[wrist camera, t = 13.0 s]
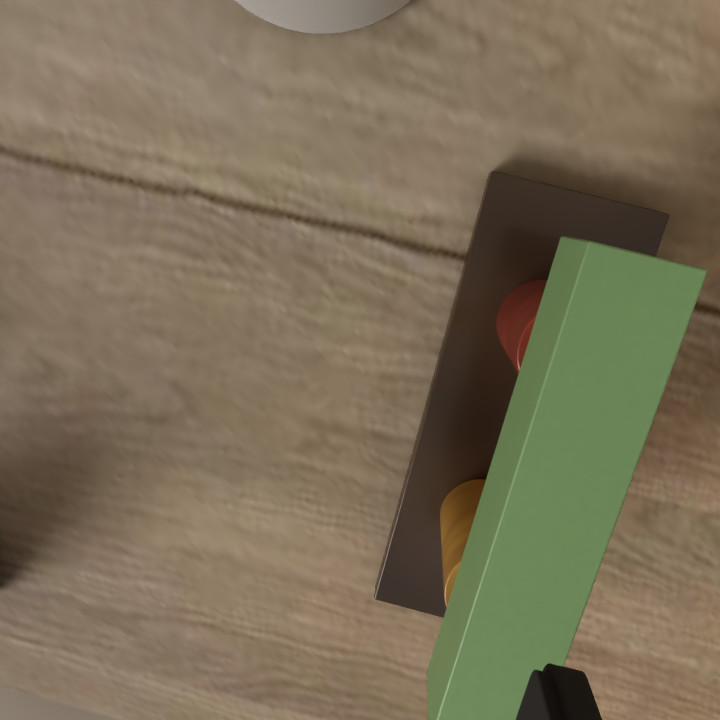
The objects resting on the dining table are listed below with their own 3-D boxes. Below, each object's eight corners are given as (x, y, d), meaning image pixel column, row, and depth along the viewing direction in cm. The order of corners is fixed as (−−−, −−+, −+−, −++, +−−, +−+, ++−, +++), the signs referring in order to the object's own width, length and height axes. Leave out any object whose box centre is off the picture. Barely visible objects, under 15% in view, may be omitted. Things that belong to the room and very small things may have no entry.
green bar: (560, 235, 23) (588, 240, 19) (660, 259, 23) (709, 269, 19) (426, 670, 27) (427, 747, 23) (510, 694, 27) (525, 775, 23)
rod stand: (489, 172, 30) (512, 158, 23) (661, 213, 30) (746, 215, 22) (375, 586, 36) (361, 695, 28) (521, 626, 35) (549, 746, 27)
